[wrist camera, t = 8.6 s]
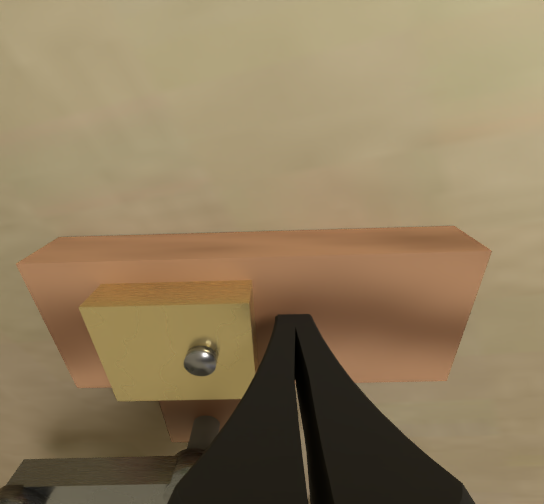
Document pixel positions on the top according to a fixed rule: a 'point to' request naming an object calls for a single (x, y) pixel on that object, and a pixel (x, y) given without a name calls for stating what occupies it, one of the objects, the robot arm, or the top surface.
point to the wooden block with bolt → (174, 338)
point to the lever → (98, 480)
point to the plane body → (280, 297)
